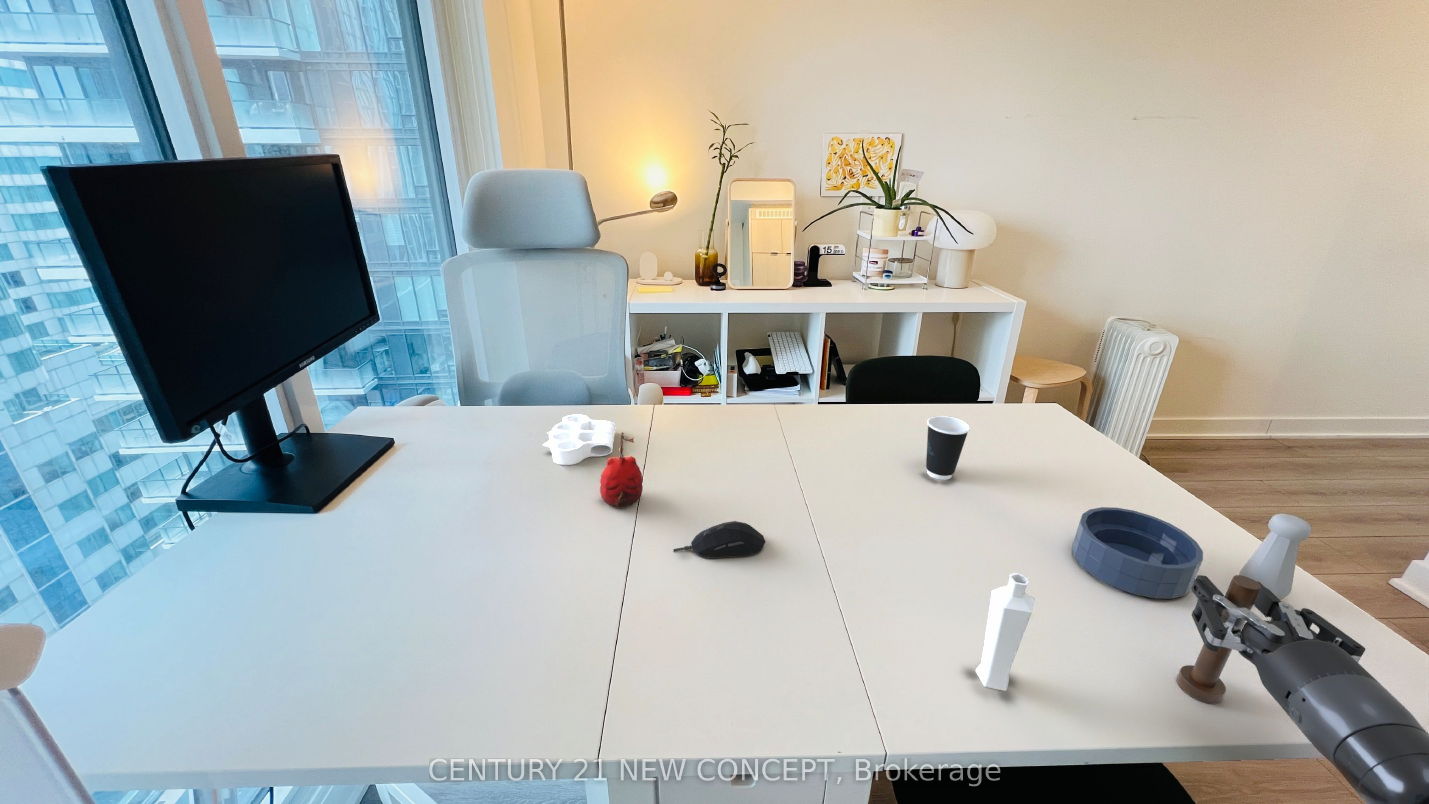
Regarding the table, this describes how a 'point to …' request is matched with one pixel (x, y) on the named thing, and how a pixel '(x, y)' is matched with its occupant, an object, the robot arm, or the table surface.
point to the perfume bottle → (1004, 631)
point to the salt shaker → (1278, 554)
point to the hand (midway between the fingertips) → (1224, 584)
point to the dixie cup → (944, 445)
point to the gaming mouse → (727, 541)
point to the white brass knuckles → (580, 439)
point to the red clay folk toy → (621, 480)
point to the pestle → (1210, 664)
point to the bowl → (1137, 552)
